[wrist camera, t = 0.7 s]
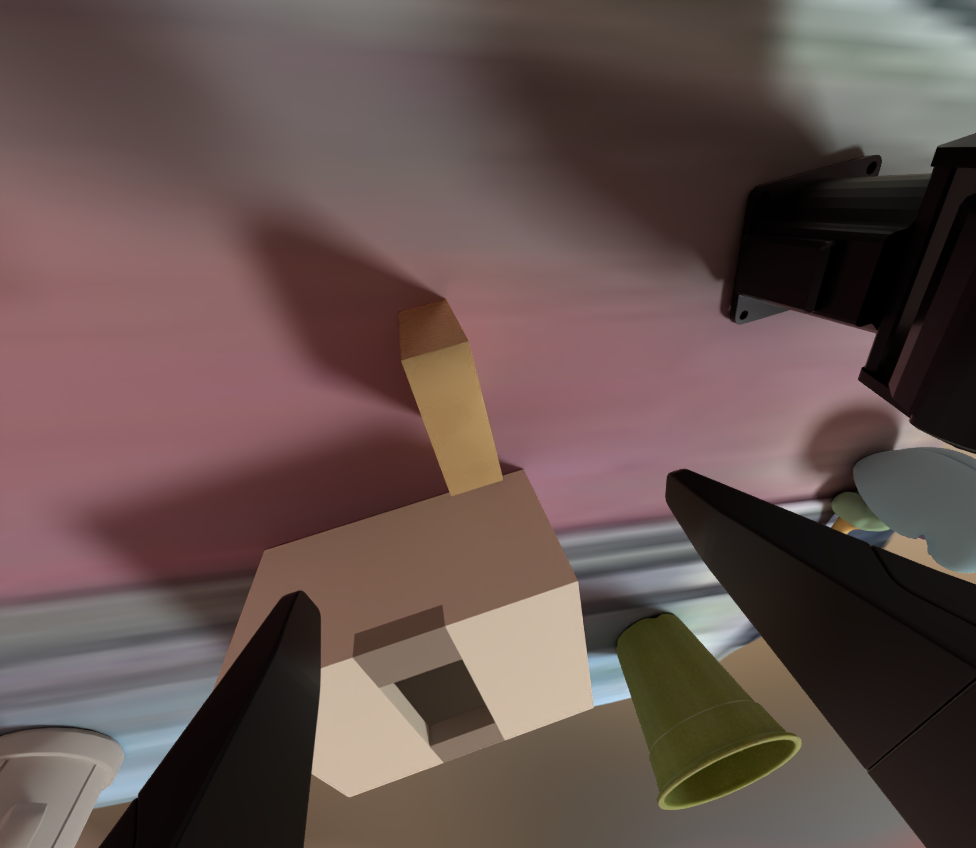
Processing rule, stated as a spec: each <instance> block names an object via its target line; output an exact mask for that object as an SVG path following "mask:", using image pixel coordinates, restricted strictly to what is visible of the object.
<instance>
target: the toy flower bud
mask: <svg viewBox="0 0 976 848" xmlns="http://www.w3.org/2000/svg"><path fill="white" fill-rule="evenodd" d="M853 477H854V481H855V484H856V487H857V489H858V491H856V492H855V493H853V492H843V493H841V494H839V495H837V496H836V497H835V498H834V499H833V501H832V503H831V507H832V509H833V511H834V512H835V513H836V514H837V515H838V516H839V517H838V518H837V520H836V521H835V523H834V524H833V526H832V527H831V528H833V529H835V530H837V531H840V532H842V533H845V534H848V532H850V531H851V530H854V529H863V530H867V531H884V530H889V529H892V530H893V531H895V532H897V533H898V534H900V535H903V536H905V537H908V538H913V539H917V538H921V539H925V540H926V541H927V545H928V553H929V555H931V556H932V557H933V559H934V560H935V561H936V562H937V563H938V564H940V565H941V566H943V567H945V568H947V569H949V570H952V571H955V572H960V573H973V572H976V459H974V458H972V457H970V456H968V455H966V454H963V453H960V452H957V451H953V450H949V449H944V448H935V447H918V448H908V449H901V450H892V451H885V452H880V453H876V454H873V455H870V456H867V457H865V458H863V459H861V460H860V461H858V462H857V463H856V464H855V466H854V468H853Z"/></svg>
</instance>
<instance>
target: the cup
mask: <svg viewBox="0 0 976 848" xmlns="http://www.w3.org/2000/svg"><path fill="white" fill-rule="evenodd" d="M124 758H125V757H124V753H123V750H122V748H121V746H120V744H119V743H117V742H116V741H115V740H114V739H112V738H111V737H109V736H106V735H104V734H101V733H98V732H95V731H89V730H83V729H77V728H41V729H30V730H24V731H19V732H15V733H10V734H6V735H3V736H0V848H74V847H75V844H76V843H77V840H78V838H79V836H80V834H81V832H82V830H83V828H84V826H85V824H86V821H87V819H88V817H89V815H90V813H91V811H92V809H93V807H94V805H95V803H96V801H97V799H98V797H99V795H100V793H101V791H102V790H104V789H105V788H107V787H108V786H110V785H111V784H112V782H113V780H114V778H115V777H116V775H117V772H118V770H119V768H120V766H121V764H122V762H123V760H124Z"/></svg>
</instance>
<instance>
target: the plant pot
mask: <svg viewBox="0 0 976 848" xmlns="http://www.w3.org/2000/svg"><path fill="white" fill-rule="evenodd" d="M616 653H617V656H618V659H619V662H620V665H621V668H622V671H623V674H624V677H625V680H626V683H627V686H628V689H629V692H630V695H631V698H632V701H633V703H634V706H635V709H636V713H637V716H638V719H639V722H640V724H641V728H642V731H643V734H644V737H645V740H646V743H647V746H648V749H649V752H650V754H649V759H650V762H651V765H652V768H653V771H654V774H655V778H656V781H657V785H658V788H659V791H660V793H659V795H658V798H657V802H658V805H659V807H660V808H662V809H666V810H677V809H682V808H688V807H692V806H696V805H699V804H703V803H706V802H709V801H712V800H715V799H718V798H720V797H723V796H725V795H728V794H730V793H732V792H734V791H737V790H739V789H741V788H743V787H745V786H748V785H749V784H751V783H753V782H755V781H757V780H759V779H761V778H762V777H764V776H766V775H768V774H769V773H771V772H773V771H774V770H776V769H777V768H779V767H781V766H782V765H783V764H784V763H786V762H787V761H788V760H789V759H791V757H793V756H794V755H795V753H797V751H798V750H799V749H800V747H801V743H802V742H801V739H800V738H799V737H798V736H797V735H795V734H793V733H788V732H786V731H785V730H784V729H783V728H782V727H781V726H780V725H779V724H778V723H777V722H776V721H775V720H774V719H773V717H772V716H771V715H770V714H769V713H768V712H767V711H766V710H765V709H764V708H763V707H762V706H761V705H760V704H758V703H756V702H755V701H754V700H753V699H752V698H751V697H750V696H749V695H748V694H747V693H746V692H745V690H744V689H742V687H741V686H740V685H739V684H738V683H737V682H736V681H735V680H734V679H733V677H732V676H731V675H730V674H729V673H728V672H727V671H726V670H725V669H724V667H723V666H722V665H721V664H720V663H719V662H718V661H717V660H716V659H715V657H714V656H713V655H712V654H711V653H710V652H709V651H708V650H707V649H706V648H705V646H704V645H703V644H702V643H701V642H700V641H699V640H698V639H697V638H696V637H695V635H694V634H693V633H692V632H691V631H690V630H689V629H688V628H687V626H686V625H685V624H684V623H683V622H682V621H681V620H680V619H679V618H678V617H677V616H675V615H671V614H661V615H660V616H659V617H657V618H645V619H643V620H640V621H638V622H636V623H634V624H633V625H632V626H631V627H629V628H628V629H627V630H625V631H624V632H623V633H622V634H621V636H620V637H619V639H618V641H617V648H616Z"/></svg>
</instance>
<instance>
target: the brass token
mask: <svg viewBox="0 0 976 848" xmlns="http://www.w3.org/2000/svg"><path fill="white" fill-rule="evenodd" d="M399 331H400V350H401V362H402V365H403V367H404V370H405V373H406V375H407V378H408V381H409V384H410V386H411V389H412V392H413V394H414V397H415V400H416V403H417V405H418V408H419V411H420V413H421V416H422V419H423V422H424V424H425V427H426V430H427V432H428V435H429V438H430V441H431V443H432V446H433V449H434V451H435V454H436V457H437V460H438V462H439V465H440V468H441V470H442V473H443V476H444V479H445V481H446V484H447V487H448V489H449V492H450V495H451V496H454V495H457V494H460V493H464V492H467V491H470V490H473V489H476V488H480V487H483V486H486V485H489V484H492V483H495V482H499V481H502V480H503V476H502V472H501V468H500V464H499V460H498V456H497V452H496V448H495V444H494V440H493V436H492V432H491V428H490V424H489V420H488V416H487V412H486V408H485V404H484V400H483V397H482V393H481V389H480V385H479V381H478V377H477V373H476V369H475V365H474V361H473V357H472V353H471V349H470V345H469V341H468V339H467V337H466V335H465V334H464V332H463V330H462V328H461V326H460V324H459V322H458V320H457V319H456V317H455V315H454V313H453V311H452V309H451V307H450V306H449V304H448V302H447V300H446V299H444V300H440V301H437V302H433V303H429V304H426V305H422V306H419V307H415V308H411V309H408V310H404V311H400V312H399Z"/></svg>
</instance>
